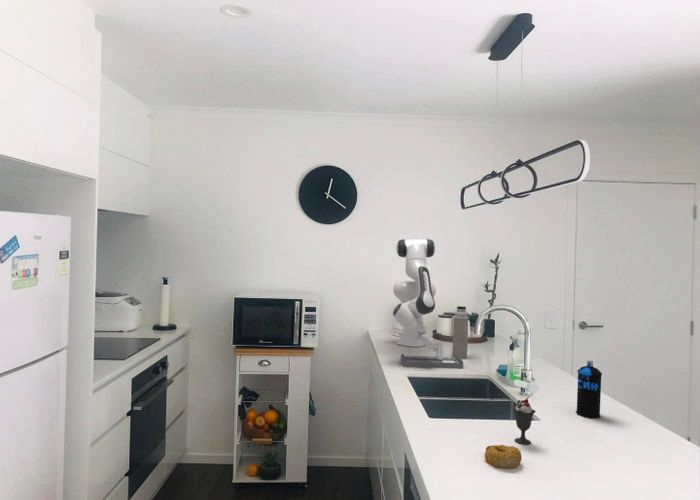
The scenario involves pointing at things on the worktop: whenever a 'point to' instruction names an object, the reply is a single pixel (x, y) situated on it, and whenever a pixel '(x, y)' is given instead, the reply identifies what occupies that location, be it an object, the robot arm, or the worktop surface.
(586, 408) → the aerosol can
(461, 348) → the thermos bottle
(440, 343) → the fader knob
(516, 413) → the sundae
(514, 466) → the bagel
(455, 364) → the console
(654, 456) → the worktop surface
